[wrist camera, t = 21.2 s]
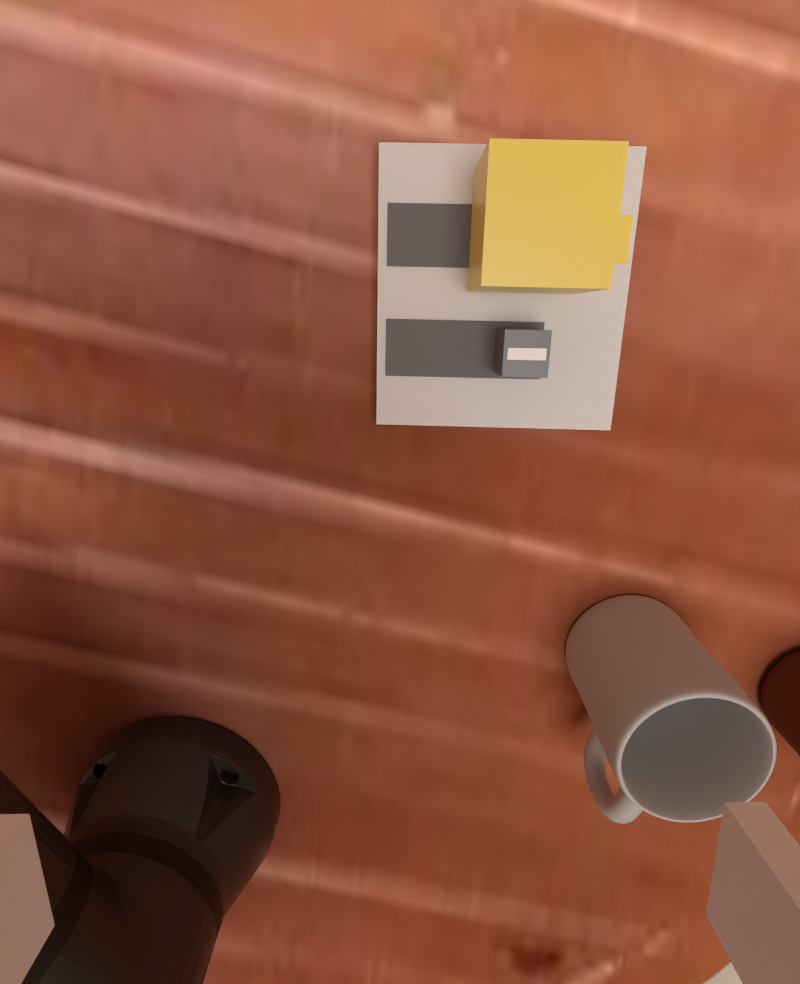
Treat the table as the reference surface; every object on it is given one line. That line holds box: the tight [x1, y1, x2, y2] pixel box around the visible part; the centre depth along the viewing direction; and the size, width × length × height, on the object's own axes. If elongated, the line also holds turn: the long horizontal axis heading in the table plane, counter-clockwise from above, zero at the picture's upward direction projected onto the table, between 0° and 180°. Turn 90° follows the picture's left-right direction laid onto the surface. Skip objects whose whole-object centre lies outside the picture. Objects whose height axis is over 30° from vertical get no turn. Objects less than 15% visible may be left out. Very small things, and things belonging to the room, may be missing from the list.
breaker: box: [494, 329, 552, 378], centre depth 31 cm, size 2×2×3 cm
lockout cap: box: [468, 138, 629, 294], centre depth 29 cm, size 6×6×6 cm
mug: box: [565, 595, 776, 824], centre depth 36 cm, size 12×8×11 cm
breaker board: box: [376, 142, 647, 430], centre depth 33 cm, size 14×15×2 cm
